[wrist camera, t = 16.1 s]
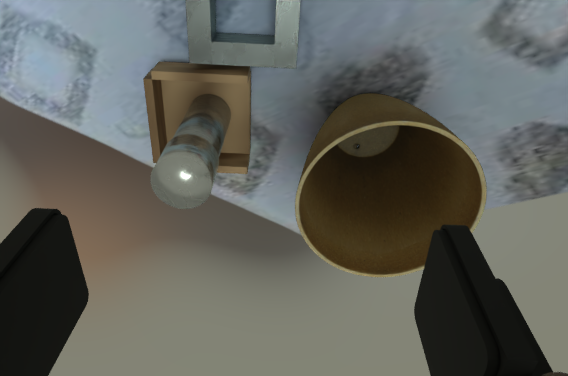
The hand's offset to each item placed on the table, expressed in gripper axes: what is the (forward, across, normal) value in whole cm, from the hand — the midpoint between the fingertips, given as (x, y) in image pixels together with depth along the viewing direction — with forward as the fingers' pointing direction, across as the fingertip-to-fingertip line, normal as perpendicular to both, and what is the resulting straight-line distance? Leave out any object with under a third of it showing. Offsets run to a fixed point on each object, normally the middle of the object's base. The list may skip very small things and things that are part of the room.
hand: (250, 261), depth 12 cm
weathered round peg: (+35, +8, +11) cm, 38 cm away
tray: (+36, +8, +11) cm, 39 cm away
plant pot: (+37, -8, +12) cm, 40 cm away
